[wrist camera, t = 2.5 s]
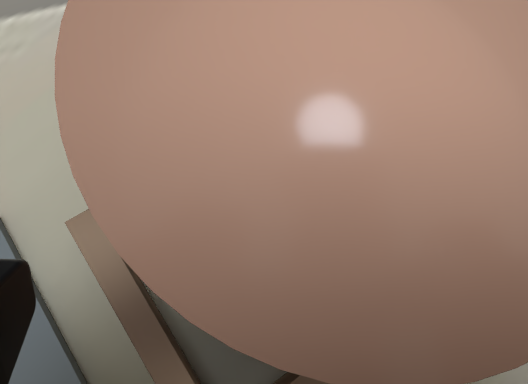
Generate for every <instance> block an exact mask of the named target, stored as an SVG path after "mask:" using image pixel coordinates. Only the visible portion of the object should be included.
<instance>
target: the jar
mask: <svg viewBox="0 0 528 384" xmlns="http://www.w3.org/2000/svg"><path fill="white" fill-rule="evenodd" d="M55 101H56V107H57V114H58V121H59V127H60V134H61V138H62V142H63V145H64V148H65V151H66V154H67V158H68V161H69V164H70V167H71V170H72V174H73V177H74V179H75V181H76V183H77V185H78V187H79V189H80V191H81V193H82V195H83V197H84V199H85V201H86V203H87V206H88V208H89V210H90V212H91V214H92V216H93V218H94V219H95V220H96V222H97V223H98V225H99V226H100V228H101V229H102V231H103V232H104V234H105V235H106V237H107V238H108V240H109V241H110V242H111V244H112V245H113V247H114V248H115V250H116V251H117V253H118V254H119V255H120V257H121V258H122V259H123V260H124V261H125V262H126V263H127V264H128V265H129V266H130V268H131V269H132V270H133V271H134V272H135V273H136V274H137V275H138V276H139V277H140V278H141V280H142V281H143V282H144V283H145V284H146V285H147V286H148V287H149V288H150V289H151V290H152V291H153V292H154V293H155V294H156V295H158V296H159V297H160V298H161V299H162V300H164V301H165V302H166V303H167V304H168V305H170V306H171V307H172V308H173V309H174V310H176V311H177V312H178V313H179V314H181V315H182V316H183V317H184V318H185V319H187V320H188V321H189V322H190V323H192V324H194V325H195V326H197V327H198V328H200V329H202V330H203V331H205V332H207V333H208V334H210V335H211V336H213V337H215V338H216V339H218V340H220V341H221V342H223V343H224V344H226V345H228V346H229V347H231V348H233V349H234V350H237V351H239V352H241V353H244V354H246V355H248V356H250V357H253V358H255V359H257V360H259V361H262V362H264V363H266V364H269V365H271V366H273V367H275V368H278V369H280V370H283V371H287V372H290V373H294V374H298V375H301V376H305V377H308V378H312V379H315V380H319V381H322V382H326V383H330V384H464V383H470V382H476V381H479V380H482V379H485V378H488V377H491V376H494V375H497V374H500V373H503V372H506V371H509V370H512V369H515V368H518V367H520V366H522V365H523V364H525V363H527V362H528V0H68V3H67V6H66V9H65V12H64V15H63V18H62V21H61V26H60V32H59V38H58V44H57V50H56V56H55Z"/></svg>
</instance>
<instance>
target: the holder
mask: <svg viewBox="0 0 528 384" xmlns="http://www.w3.org/2000/svg"><path fill="white" fill-rule="evenodd" d="M65 224H66V226H67V227H68V229H69V231H70V233H71V235H72V236H73V238H74V240H75V242H76V243H77V245H78V247H79V249H80V251H81V252H82V254H83V256H84V258H85V259H86V261H87V263H88V265H89V267H90V268H91V270H92V272H93V274H94V276H95V277H96V279H97V281H98V283H99V284H100V286H101V288H102V290H103V292H104V293H105V295H106V297H107V299H108V300H109V302H110V304H111V306H112V308H113V309H114V311H115V313H116V315H117V316H118V318H119V320H120V322H121V324H122V325H123V327H124V329H125V331H126V333H127V334H128V336H129V338H130V340H131V341H132V343H133V345H134V347H135V349H136V350H137V352H138V354H139V356H140V357H141V359H142V361H143V363H144V365H145V366H146V368H147V370H148V372H149V373H150V375H151V377H152V379H153V381H154V382H155V384H201V382H200V381H199V379H198V377H197V376H196V374H195V372H194V371H193V369H192V367H191V365H190V364H189V362H188V360H187V359H186V357H185V355H184V353H183V352H182V350H181V348H180V347H179V345H178V343H177V341H176V340H175V338H174V336H173V335H172V333H171V331H170V329H169V328H168V326H167V324H166V323H165V321H164V319H163V318H162V316H161V314H160V312H159V311H158V309H157V307H156V306H155V304H154V302H153V300H152V299H151V297H150V295H149V294H148V292H147V290H146V288H145V287H144V285H143V283H142V282H141V280H140V278H139V277H138V275H137V274H136V273H135V272H134V271H133V270H132V269H131V268H130V266H129V265H128V264H127V263H126V262H125V261H124V260H123V259H122V258H121V257H120V255H119V254H118V253H117V251H116V250H115V248H114V247H113V245H112V244H111V242H110V241H109V240H108V238H107V237H106V235H105V234H104V232H103V231H102V229H101V228H100V226H99V225H98V223H97V222H96V220H95V219H94V218H93V216H92V214H91V212H90V210H89V209H88V210H86V211H84V212H82V213H80V214H79V215H77V216H75V217H73V218H71V219H70V220H68V221H66V222H65ZM273 384H330V383H326V382H322V381H319V380H315V379H312V378H308V377H305V376H301V375H298V374H294V373H290V372H288V373H286V374H285V375H284V376H282V377H281V378H280V379H278V380H277V381H276V382H274V383H273Z"/></svg>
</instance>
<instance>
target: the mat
mask: <svg viewBox="0 0 528 384" xmlns="http://www.w3.org/2000/svg"><path fill="white" fill-rule="evenodd" d="M0 259H21V257H20V255H19V253H18V251H17V249H16V247H15V245H14V244H13V242H12V240H11V238H10V236H9V234H8V232H7V230H6V228H5V226H4V225H3V223H2V221H1V219H0ZM32 281H33V280H32ZM33 286H34V291H35V296H36V307H35V312H34V315H33V318H32V320H31V323H30V326H29V329H28V331H27V334H26V337H25V340H24V342H23V345H22V348H21V351H20V353H19V356H18V359H17V362H16V364H15V367H14V370H13V373H12V376H11V378H10V381H9V384H87V382H86V380H85V378H84V376H83V375H82V373H81V371H80V369H79V367H78V365H77V363H76V361H75V359H74V357H73V356H72V354H71V352H70V350H69V348H68V346H67V344H66V342H65V340H64V338H63V337H62V335H61V333H60V331H59V329H58V327H57V325H56V323H55V321H54V319H53V318H52V316H51V314H50V312H49V310H48V308H47V306H46V304H45V302H44V301H43V299H42V297H41V295H40V293H39V291H38V289H37V287H36V285H35V283H34V282H33Z"/></svg>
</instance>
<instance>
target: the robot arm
mask: <svg viewBox="0 0 528 384" xmlns="http://www.w3.org/2000/svg"><path fill="white" fill-rule="evenodd" d="M35 307H36V296H35V291H34V286H33V281H32V276H31V271H30V267H29V265H28V263H27V262H26V261H25V260H22V259H0V384H9V381H10V378H11V376H12V373H13V370H14V367H15V364H16V362H17V359H18V356H19V353H20V351H21V348H22V345H23V342H24V340H25V337H26V334H27V331H28V329H29V326H30V323H31V320H32V318H33V315H34V312H35Z"/></svg>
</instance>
